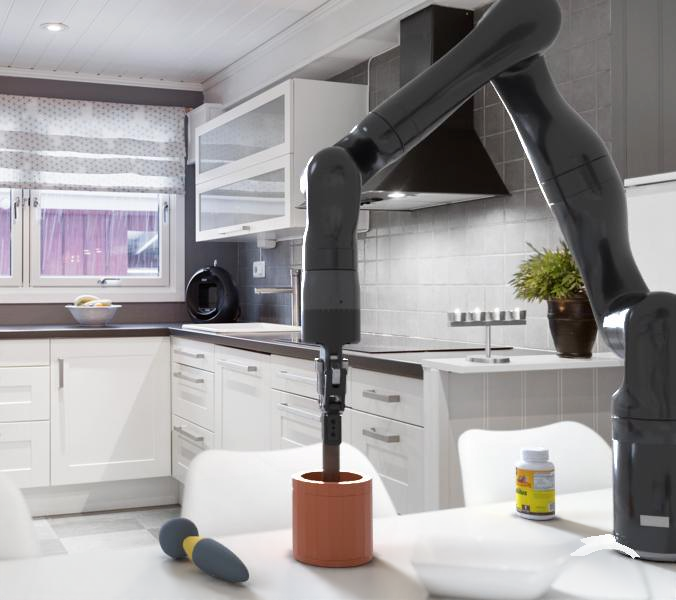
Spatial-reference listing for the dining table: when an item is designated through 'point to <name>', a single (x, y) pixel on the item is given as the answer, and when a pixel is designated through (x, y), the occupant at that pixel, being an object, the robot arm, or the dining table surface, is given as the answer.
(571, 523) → the dining table surface
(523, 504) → the supplement bottle
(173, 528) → the paintbrush
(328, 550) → the jar
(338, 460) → the brown rod with cap
